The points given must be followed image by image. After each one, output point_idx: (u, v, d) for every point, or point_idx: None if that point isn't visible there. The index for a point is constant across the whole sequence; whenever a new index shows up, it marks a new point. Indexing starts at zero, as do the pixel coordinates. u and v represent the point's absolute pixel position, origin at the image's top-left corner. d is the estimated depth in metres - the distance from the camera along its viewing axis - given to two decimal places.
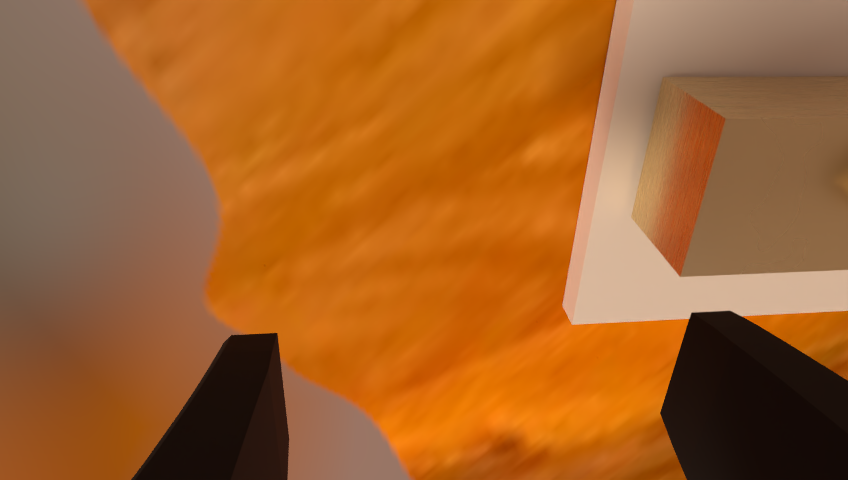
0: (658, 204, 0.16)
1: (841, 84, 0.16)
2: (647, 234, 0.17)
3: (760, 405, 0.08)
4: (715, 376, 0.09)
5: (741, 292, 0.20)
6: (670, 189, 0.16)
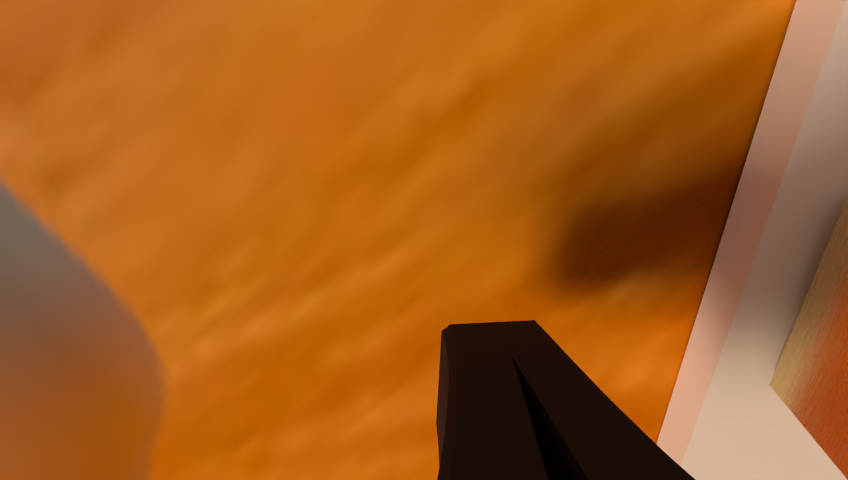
0: (833, 391, 0.11)
1: None
2: (805, 424, 0.11)
3: None
4: None
5: None
6: None
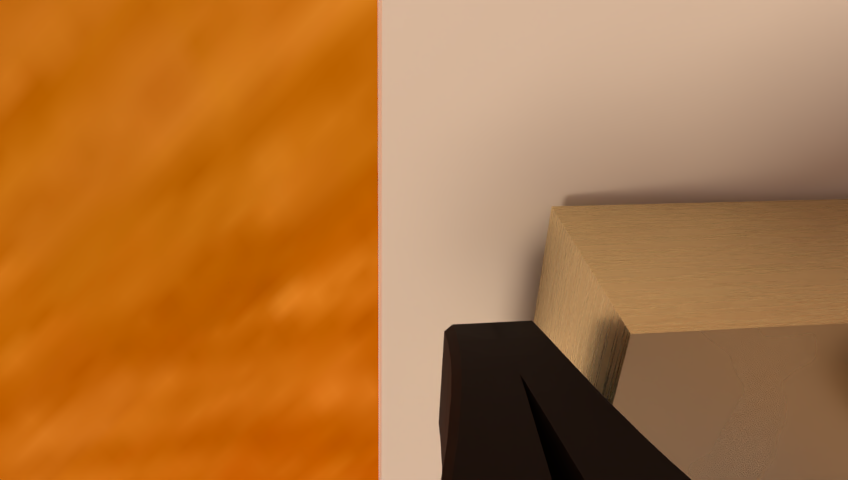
0: None
1: None
2: None
3: None
4: None
5: None
6: None
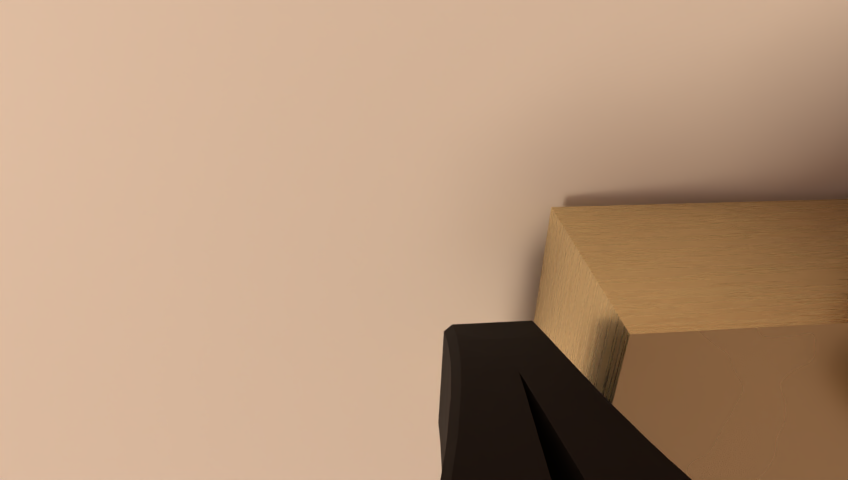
0: None
1: (846, 219, 0.09)
2: None
3: None
4: None
5: None
6: None
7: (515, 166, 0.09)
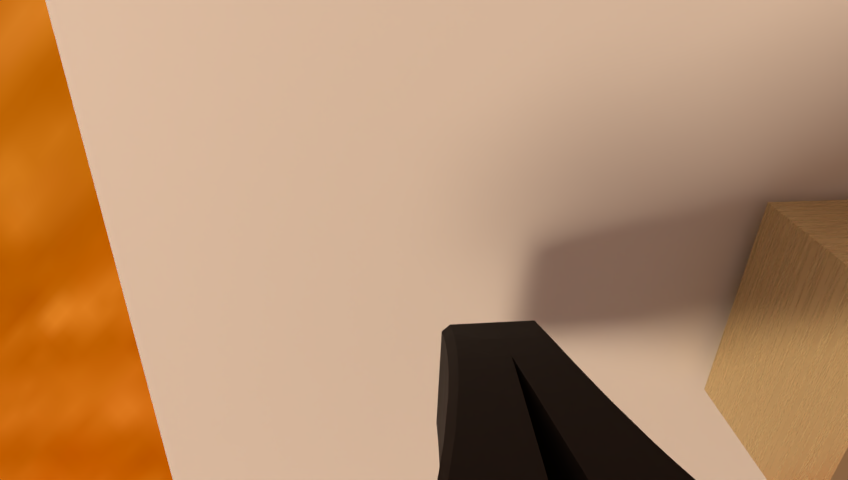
0: (758, 396, 0.10)
1: None
2: (735, 429, 0.11)
3: None
4: None
5: None
6: (782, 383, 0.10)
7: (733, 163, 0.10)
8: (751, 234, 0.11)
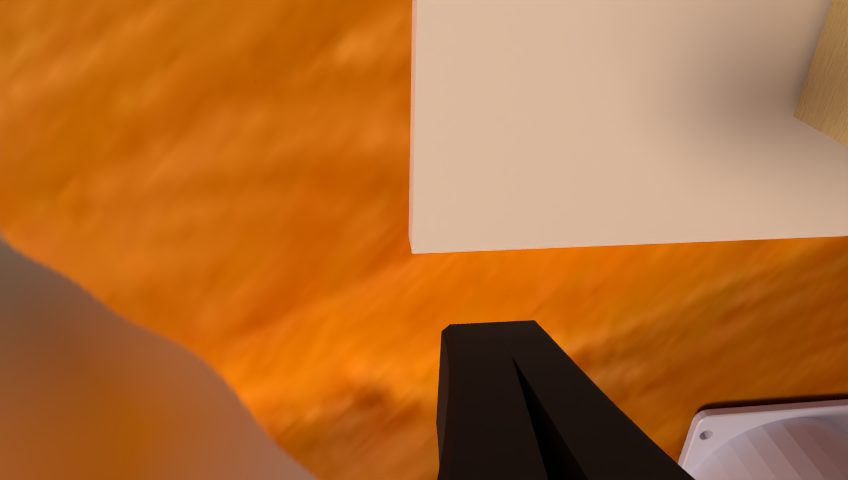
0: (840, 92, 0.15)
1: None
2: (820, 128, 0.16)
3: None
4: None
5: (602, 217, 0.18)
6: None
7: None
8: None
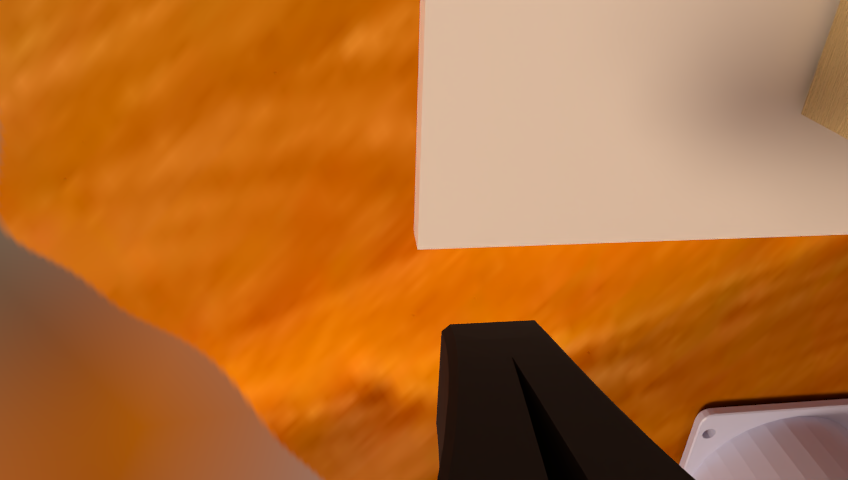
0: None
1: None
2: (828, 125, 0.16)
3: None
4: None
5: (608, 214, 0.18)
6: None
7: None
8: None
